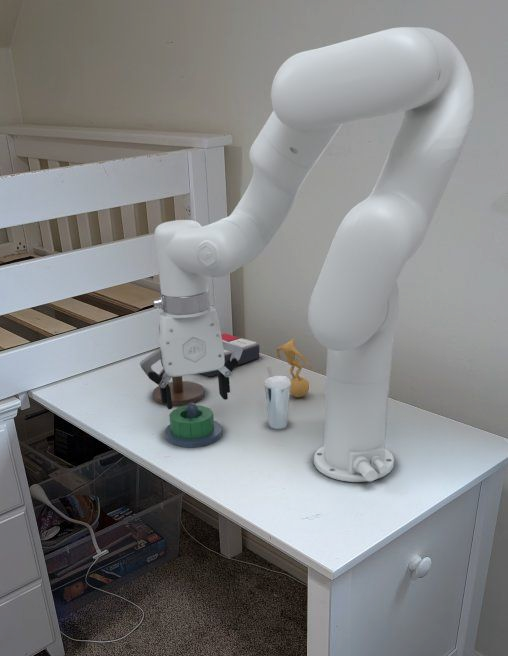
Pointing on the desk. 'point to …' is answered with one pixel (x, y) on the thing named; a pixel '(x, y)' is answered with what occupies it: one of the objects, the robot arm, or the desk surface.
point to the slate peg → (197, 442)
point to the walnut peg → (181, 392)
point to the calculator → (247, 355)
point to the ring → (191, 423)
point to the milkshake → (277, 400)
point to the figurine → (297, 383)
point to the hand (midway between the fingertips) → (196, 401)
